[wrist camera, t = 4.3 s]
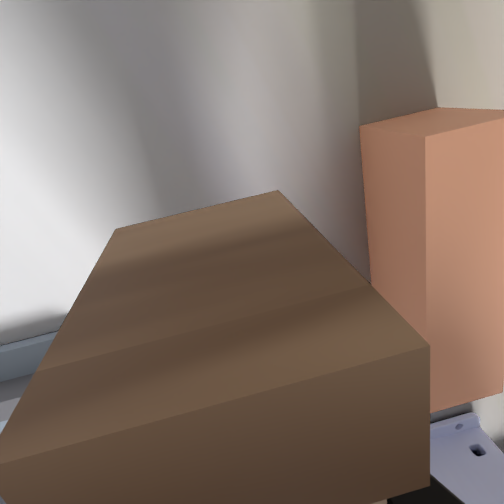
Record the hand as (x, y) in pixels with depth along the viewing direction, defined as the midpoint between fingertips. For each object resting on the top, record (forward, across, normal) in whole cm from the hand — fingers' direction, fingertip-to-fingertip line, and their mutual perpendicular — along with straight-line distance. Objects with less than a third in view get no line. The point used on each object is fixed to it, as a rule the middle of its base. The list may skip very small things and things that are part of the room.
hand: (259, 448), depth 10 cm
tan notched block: (+2, 0, 0) cm, 2 cm away
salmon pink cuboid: (+9, -9, 0) cm, 13 cm away
